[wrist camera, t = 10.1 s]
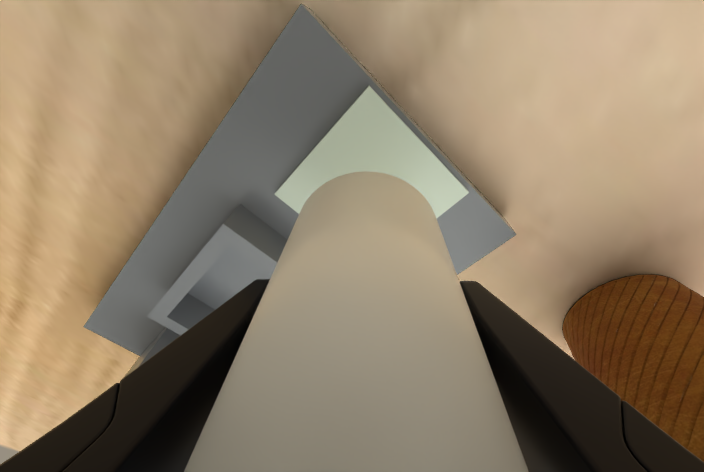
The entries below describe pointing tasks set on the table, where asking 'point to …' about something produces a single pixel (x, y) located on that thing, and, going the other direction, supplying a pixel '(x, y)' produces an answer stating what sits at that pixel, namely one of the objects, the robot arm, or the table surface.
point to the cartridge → (361, 351)
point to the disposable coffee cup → (646, 350)
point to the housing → (281, 188)
